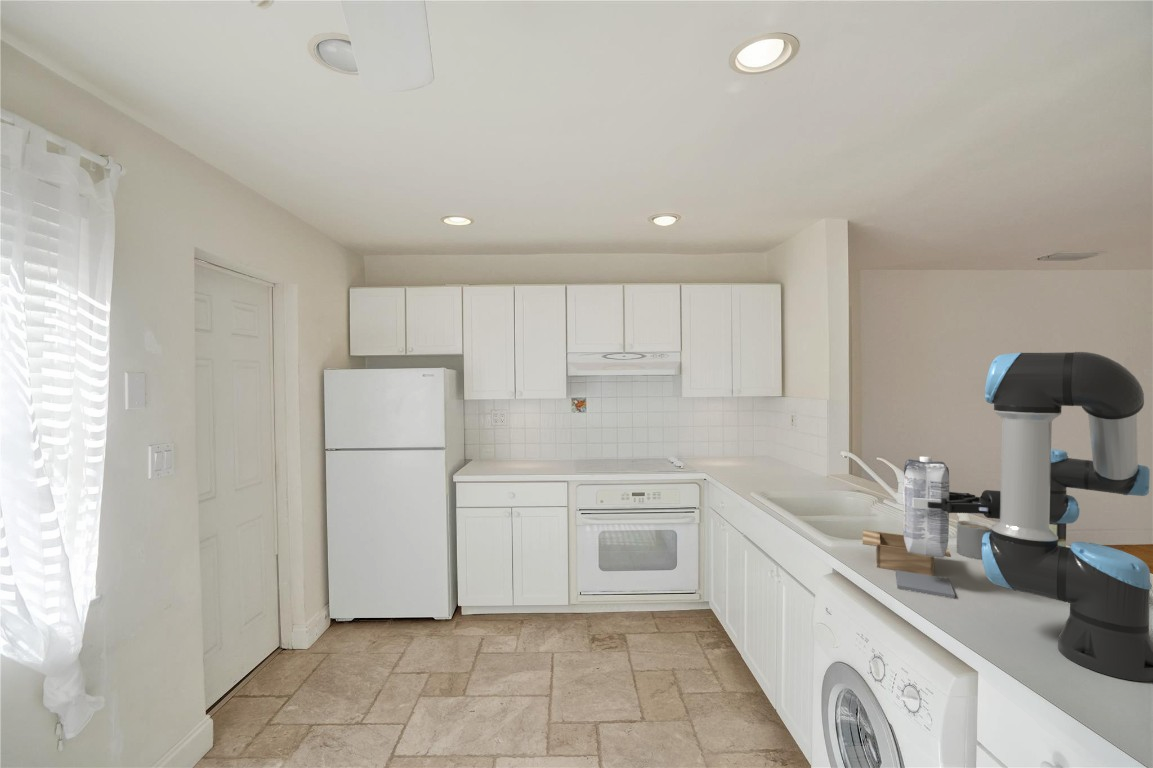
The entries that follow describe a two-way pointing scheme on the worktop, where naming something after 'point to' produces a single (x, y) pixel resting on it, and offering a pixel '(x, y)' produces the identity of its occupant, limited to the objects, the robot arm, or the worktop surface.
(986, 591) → the worktop surface
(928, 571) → the crate
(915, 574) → the mat
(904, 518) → the juice carton
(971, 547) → the coffee mug
